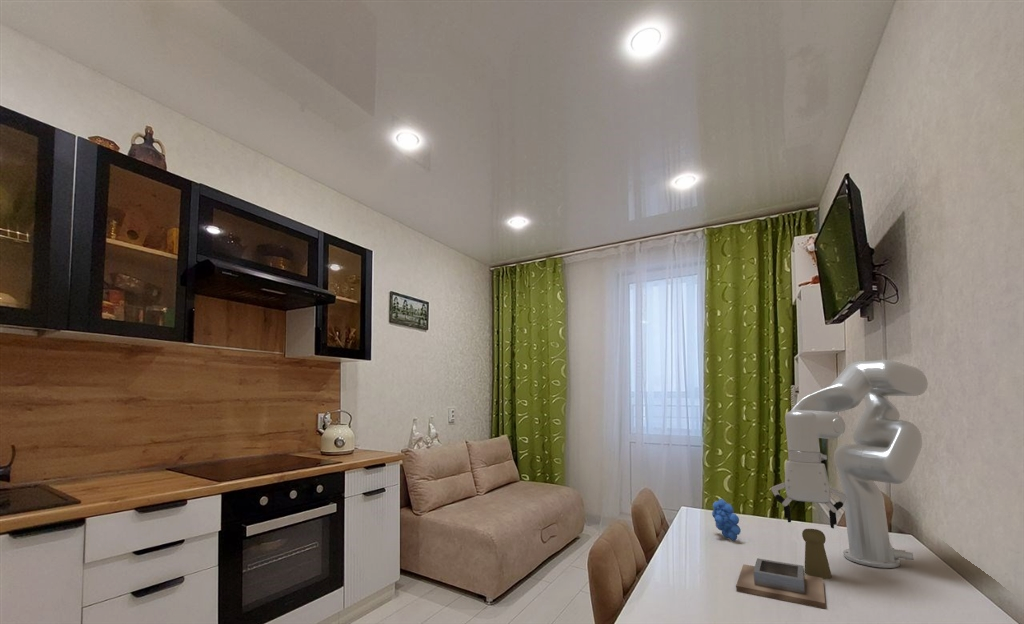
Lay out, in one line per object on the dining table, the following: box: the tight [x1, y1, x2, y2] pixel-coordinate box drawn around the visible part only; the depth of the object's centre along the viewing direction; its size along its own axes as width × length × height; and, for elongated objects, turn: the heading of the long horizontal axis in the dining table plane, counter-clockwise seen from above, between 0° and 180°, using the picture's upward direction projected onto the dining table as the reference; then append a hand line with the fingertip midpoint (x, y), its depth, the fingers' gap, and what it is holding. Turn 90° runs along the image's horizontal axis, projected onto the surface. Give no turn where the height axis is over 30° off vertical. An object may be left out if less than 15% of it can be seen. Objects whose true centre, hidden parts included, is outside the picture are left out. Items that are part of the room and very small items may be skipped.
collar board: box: [735, 563, 826, 610], centre depth 114 cm, size 18×16×1 cm
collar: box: [753, 558, 806, 594], centre depth 114 cm, size 10×10×3 cm
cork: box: [801, 528, 833, 580], centre depth 122 cm, size 6×6×11 cm
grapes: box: [711, 498, 741, 541], centre depth 151 cm, size 12×7×12 cm, turn 16°
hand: (810, 524), depth 123 cm, fingers open, 9 cm apart
